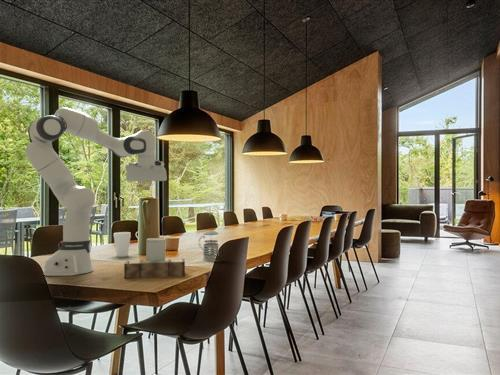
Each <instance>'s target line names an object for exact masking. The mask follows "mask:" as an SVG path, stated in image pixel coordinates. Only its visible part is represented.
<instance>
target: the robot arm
mask: <svg viewBox="0 0 500 375" xmlns="http://www.w3.org/2000/svg"><path fill="white" fill-rule="evenodd" d="M27 133H28V137H29V138H28V139H29V144H27V145H26V147H25V150H24V154H25V156H26V157H27V160H28V161H29V163H30V164H31V166H32V167H33V169H35V171H36V172H37V173H38V175H39V176H40V177H41V178H42V179H43V180H44V182H45V183H46V184H47V185H48V186H49V188H50V190H51V192H52V193H53V195H54V196H55V197H56V199H57V201H58V202H59V204H60V206H62V207H63V208H64V209H66V212H65V217H64V220H63V223H62V239H63V240H61V241H60V242H59V243H58V244H57V246H58V250H57V251H55V252H54V253H53V254H52V255H50V256H49V257H47V259H46V260H45V261H44V262H45V263H44V266H43V269H42V270H43V271H44V274H45V276H46V277H49V276H50V277H51V276H54V277H55V276H57V277H58V276H60V277H61V276H76V275H82V274H87V273H91V272H93V271H94V268H93V265H92V259H91V248H92V247H91V240H90V220H91V215H92V209H93V205H94V204H95V201H96V197H95V194H94V192H93V190H91V189H90V188H89V187H88V186H87V187H86V186H84V185H79V184H78V183H77V182H76V180H75V179H74V176H73V175H72V171H71V170H70V168H69V167H68V166H67V164H66V163H65V162H64V160H63V159H62V158H61V157H60V156H59V155H58V153H57V152H56V151H55V149H54V148H53V142H54V141H57V140H58V139H59V138H61V137H62V135H63V134H64V133H68V134H71V135H73V136H75V137H77V138H81V139H84V140H87V141H91V142H93V143H96V144H98V145H99V146H102V147H104V148H106V149H108V150H110V151H111V152H112V153H113V154H114V155H115V156H116V157H118V158H122V159H123V158H127V157H130V156H131V157H132V156H136V155H137V162H128V163H127V164H125V171H126V172H125V180H126V181H127V182H140V183H141V185H142V186H143V191H151V188H150V187H151V186H152V183H153V182H165V181H167V180H168V176H167V169H166V168H165V162H163V161H162V160H161V161H160V160H158V159H156V152H155V151H156V139H155V138H156V137H155V135H154V133H153V132H151V131H149V130H144V129H143V130H139V131H137V132H136V133H134V134H131V135H128V136H125V137H114V136H112V135H110V134H108V133H105V132H103V131H102V130H101V129H100V124H99V122H98V121H97V119H95V118H94V117H91V116H90V115H89V114H86V113H85V112H82V111H79V110H76V109H72V108H69V107H65V106H64V107H59V108H58V109H57V110H56V111H55V113H54V114H51V115H49V114H48V115H43V116H41V117H38V118H36V119H35V120H33V121H32V122H31V123H30V124H29V126H28V129H27ZM145 182H148V186H146V185H145Z"/></svg>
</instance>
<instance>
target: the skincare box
mask: <svg viewBox="0 0 500 375" xmlns="http://www.w3.org/2000/svg"><path fill="white" fill-rule="evenodd" d="M145 245H146V247H145V251H146V252H145V262H146V261H166V238H160V237H156V238H154V237H153V238H151V237H149V238H146V243H145Z"/></svg>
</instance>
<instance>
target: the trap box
mask: <svg viewBox="0 0 500 375" xmlns="http://www.w3.org/2000/svg"><path fill="white" fill-rule="evenodd" d="M185 267H186V260H185V258H182V259H181V261H172V258H169V259H168V260H165V261H146V260H145V261H144V260H143V259H141V260H140V261H139V262H134V263H131V262H130V260H126V261H125V262H124V264H123V268H124V270H123V271H124V272H123V273H124V274H123V275H124V276H123V277H124V279H141V278H142V279H145V278H146V279H148V278H166V277H168V278H169V276H172V277H185V276H186V272H185V271H186V268H185Z"/></svg>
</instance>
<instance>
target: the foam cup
mask: <svg viewBox="0 0 500 375" xmlns="http://www.w3.org/2000/svg"><path fill="white" fill-rule="evenodd" d="M131 235H132V234H131V232H129V231H121V232H120V231H118V232H114V233H113V240H114V247H115V254H116V257H118V258H119V257H121V258H122V257H123V258H124V257H127V256H129V253H130V252H129V251H130V243H131V237H132V236H131Z"/></svg>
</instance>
